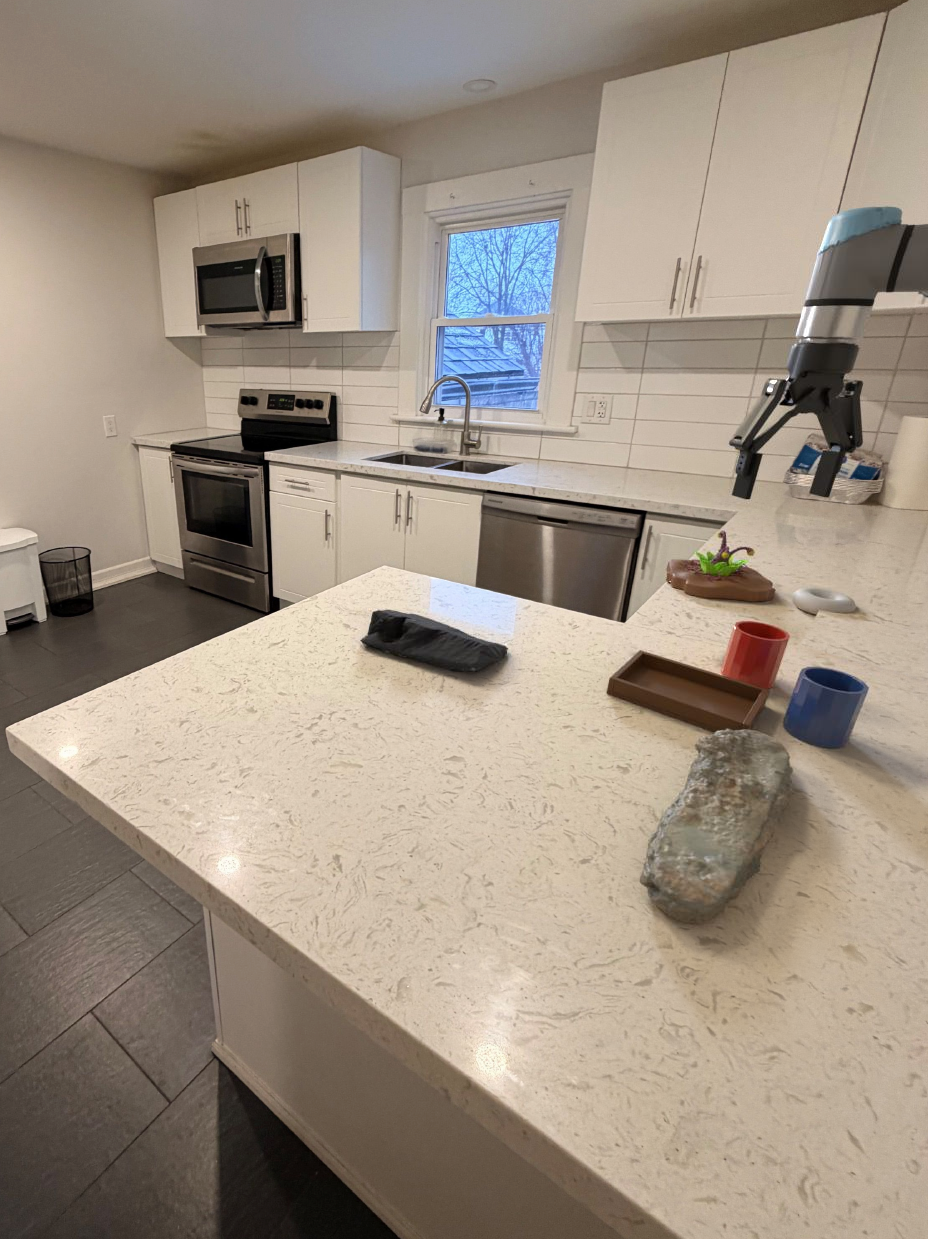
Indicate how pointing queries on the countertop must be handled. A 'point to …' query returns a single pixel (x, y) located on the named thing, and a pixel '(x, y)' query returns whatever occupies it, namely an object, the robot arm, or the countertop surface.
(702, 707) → the tray
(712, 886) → the elongated rock
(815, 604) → the donut
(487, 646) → the folded black pouch
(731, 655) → the red cup
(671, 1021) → the countertop surface
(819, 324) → the robot arm
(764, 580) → the plant
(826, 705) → the blue cup
